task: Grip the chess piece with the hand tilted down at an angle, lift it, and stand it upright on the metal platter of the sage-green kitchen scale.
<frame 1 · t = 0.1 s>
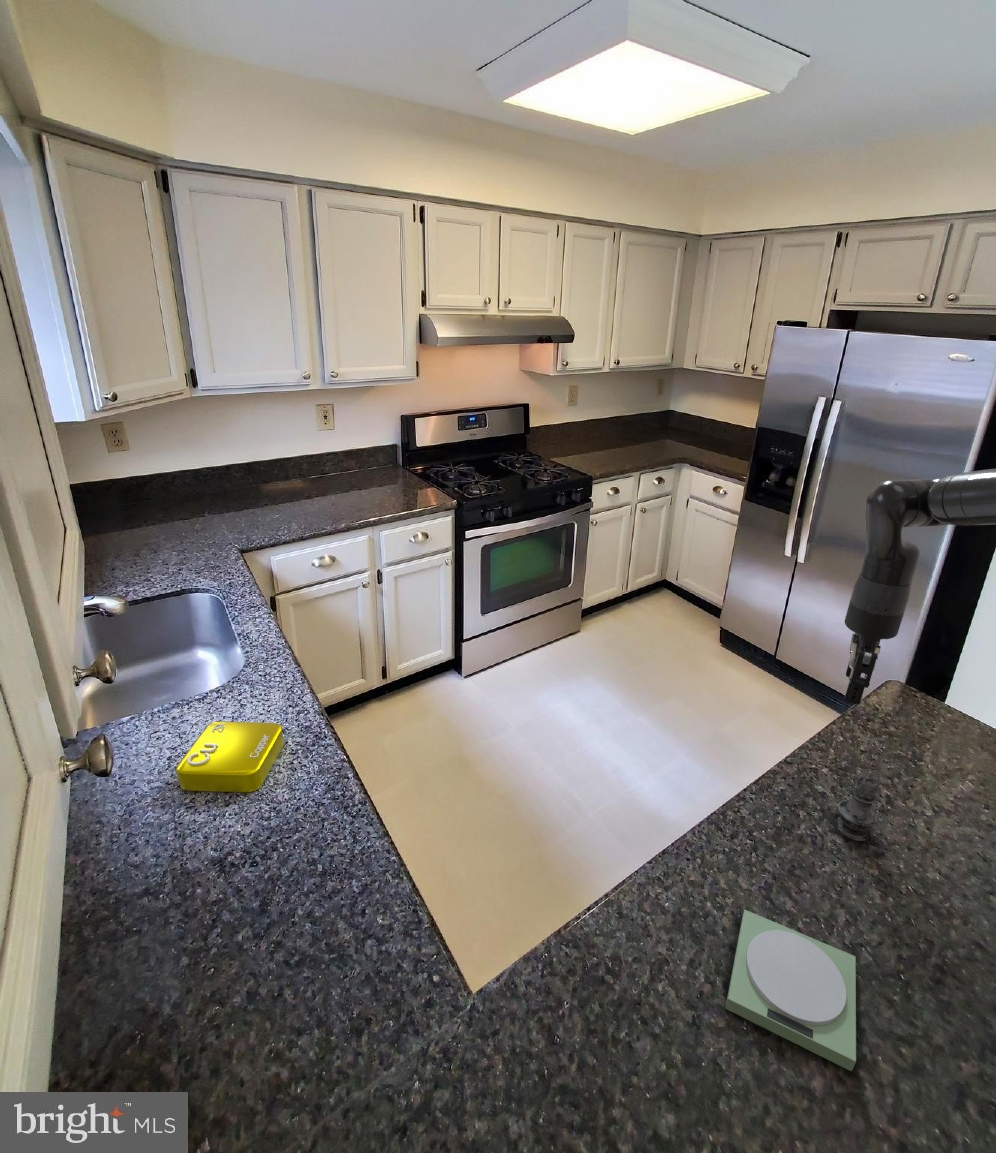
hand: (852, 689, 101), 22 cm above the countertop, tool pointing down, fingers open, 8 cm apart
chess piece: (851, 829, 102), on the countertop
scale: (790, 986, 77), on the countertop
element tile: (235, 764, 114), on the countertop
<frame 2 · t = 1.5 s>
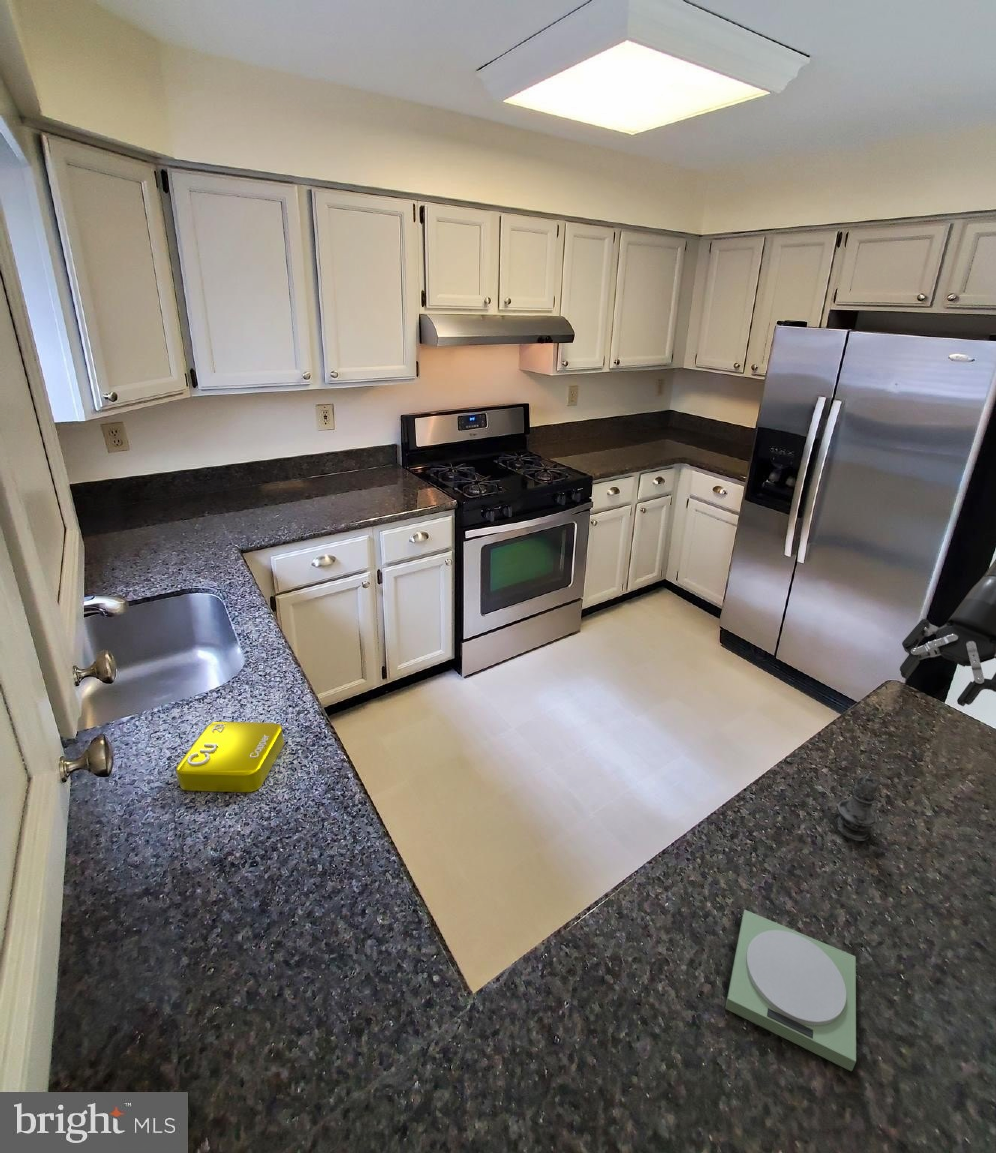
hand: (930, 689, 97), 25 cm above the countertop, tool tilted 45°, fingers open, 8 cm apart
nothing on the countertop moved.
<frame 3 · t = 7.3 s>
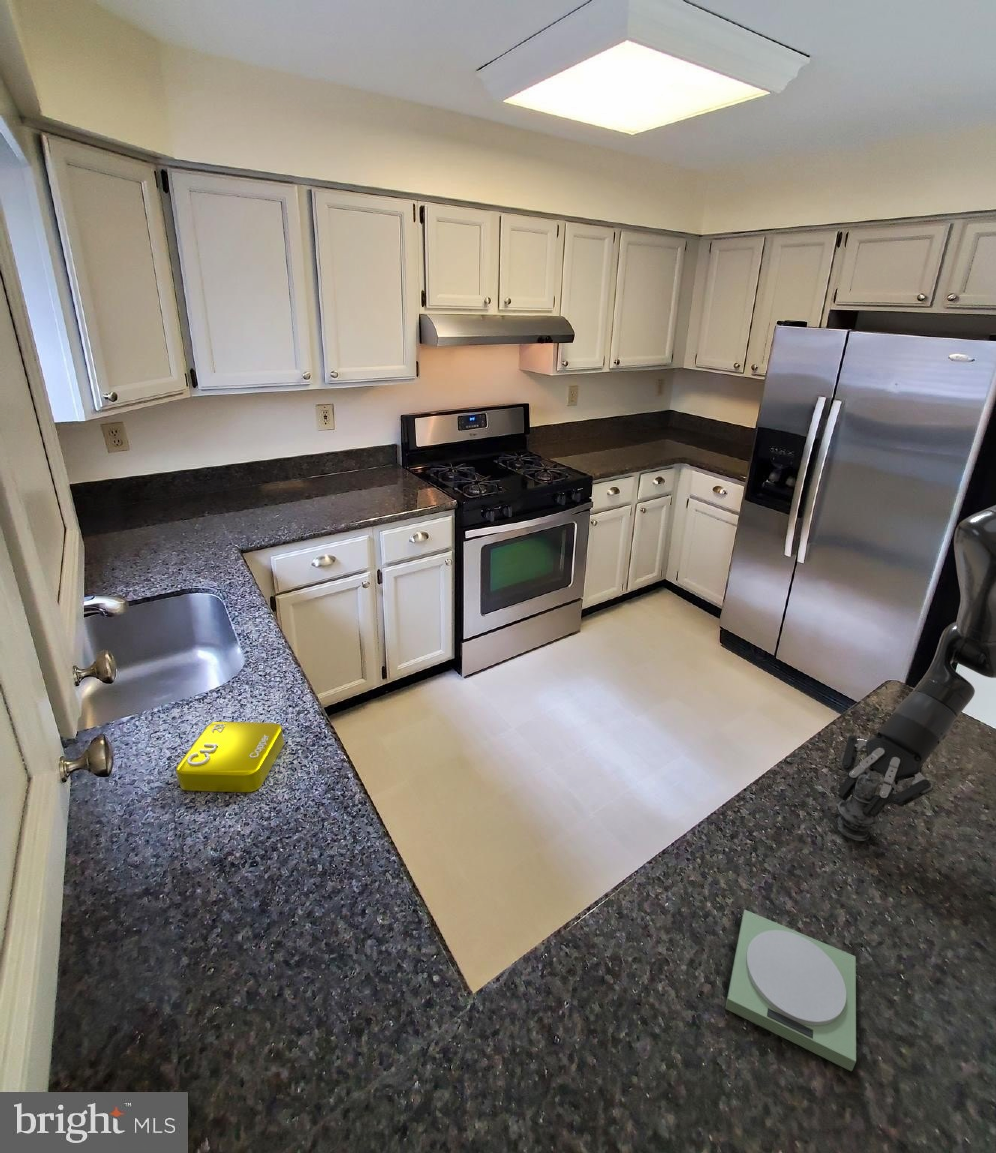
hand: (853, 806, 98), 6 cm above the countertop, tool tilted 45°, fingers closed on chess piece, 3 cm apart
chess piece: (852, 829, 102), on the countertop, touching gripper
everything else where it was.
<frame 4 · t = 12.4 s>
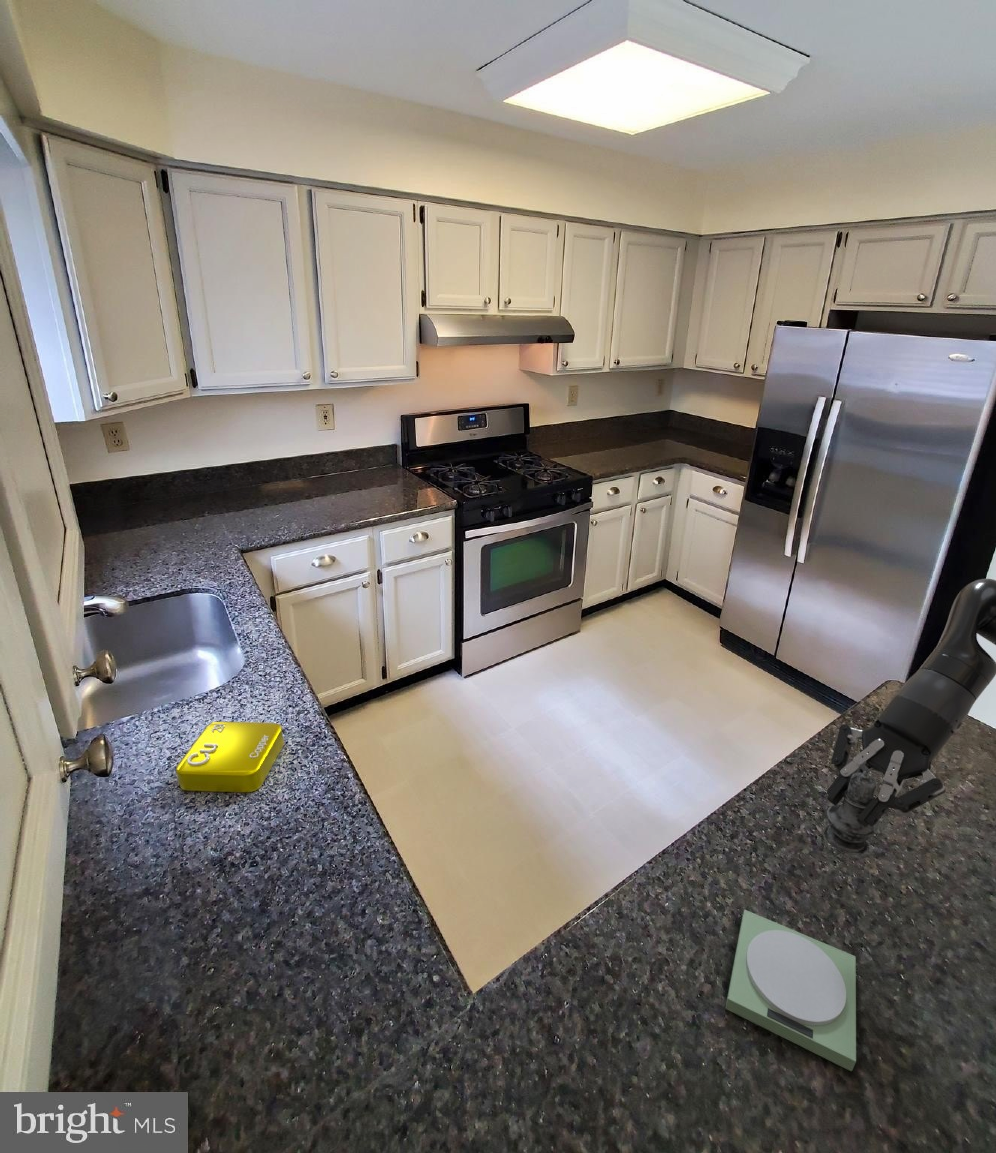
hand: (846, 812, 79), 20 cm above the countertop, tool tilted 45°, fingers closed on chess piece, 3 cm apart
chess piece: (845, 840, 82), point 14 cm above the countertop, touching gripper
everything else where it was.
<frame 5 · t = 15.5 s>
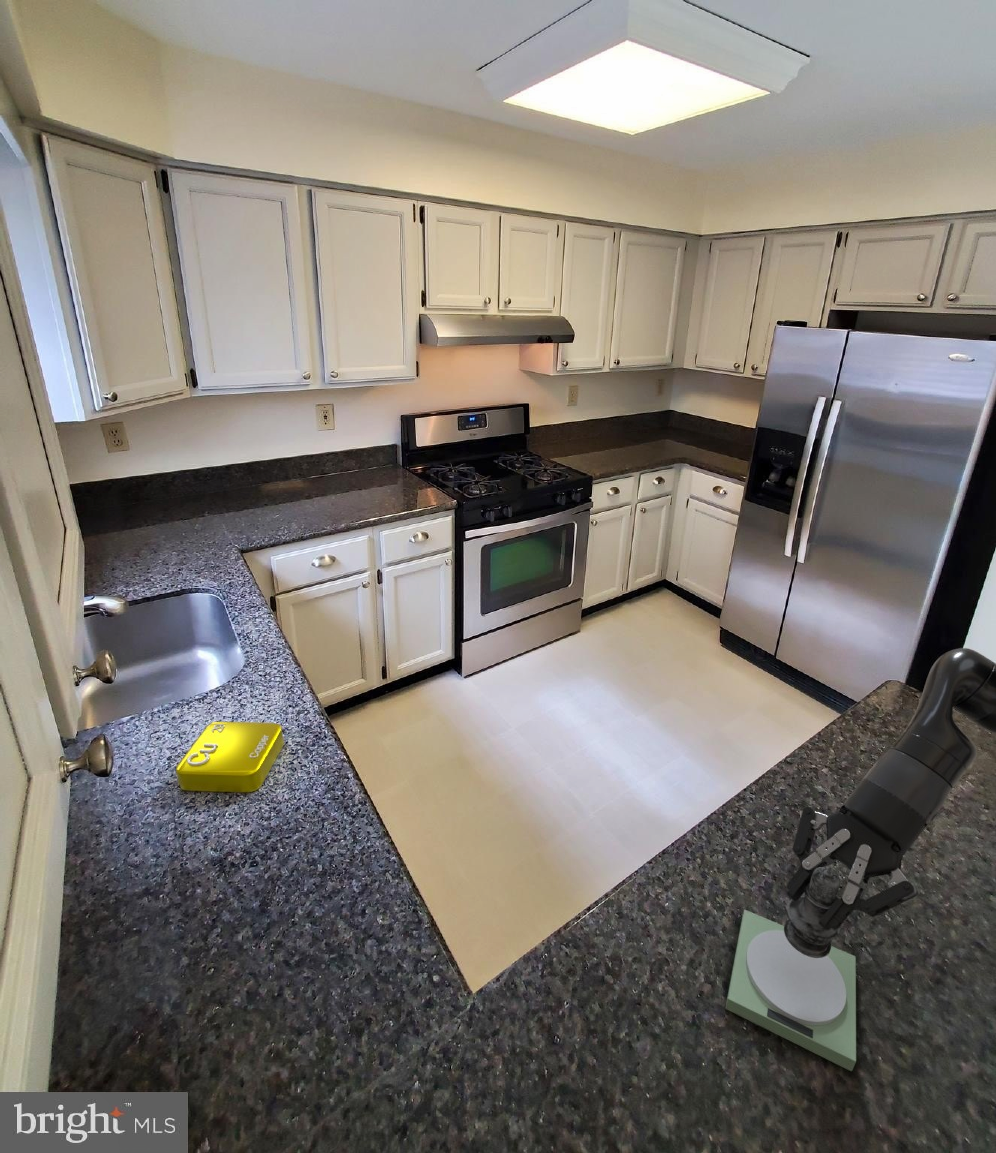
hand: (807, 911, 70), 15 cm above the countertop, tool tilted 45°, fingers closed on chess piece, 3 cm apart
chess piece: (806, 938, 74), point 9 cm above the countertop, touching gripper
everything else where it was.
when the fingers open (9 cm above the countertop, at t = 17.7 s): chess piece stays where it is, resting on scale.
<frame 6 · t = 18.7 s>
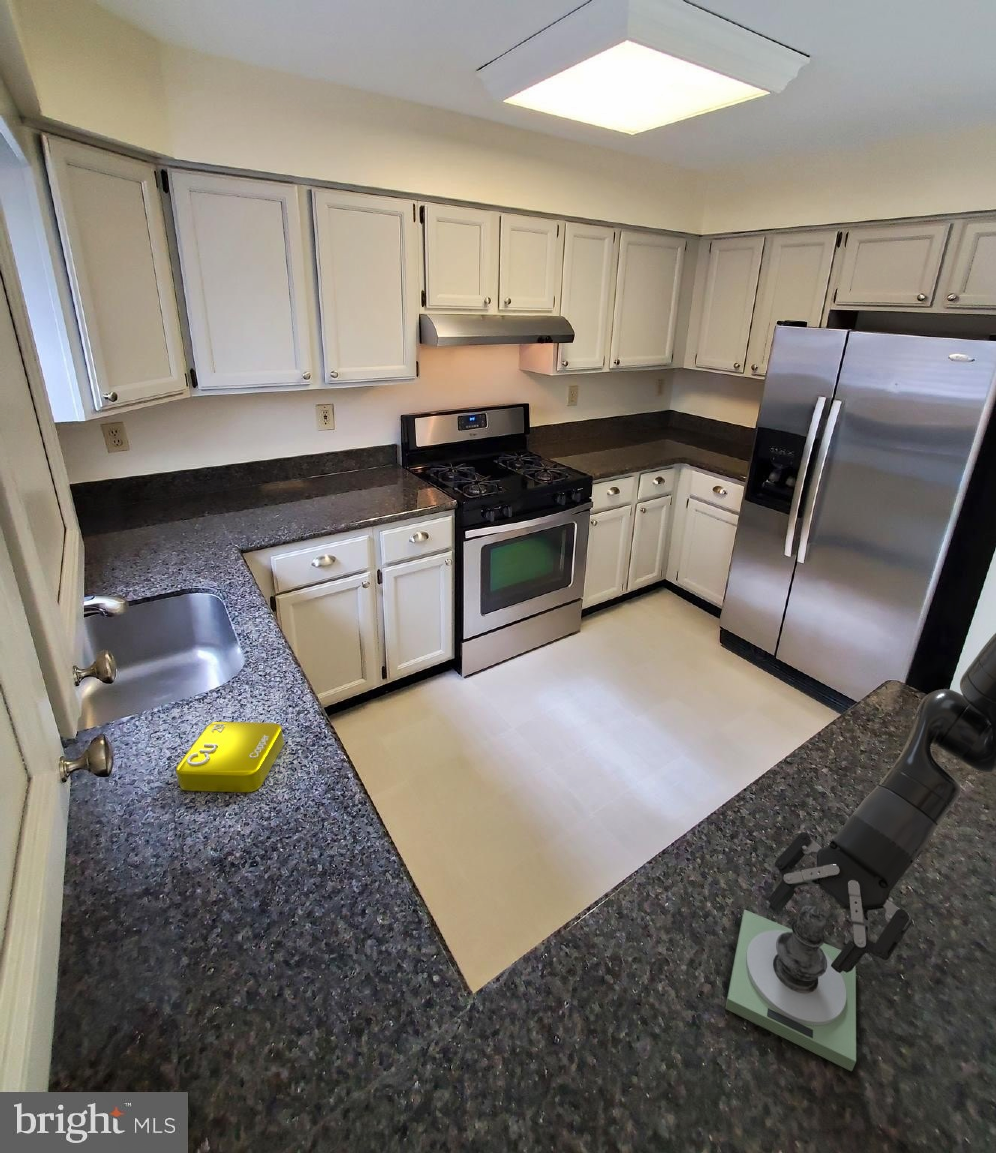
hand: (803, 938, 73), 10 cm above the countertop, tool tilted 45°, fingers open, 8 cm apart
chess piece: (794, 973, 76), point 3 cm above the countertop, touching scale
everything else where it was.
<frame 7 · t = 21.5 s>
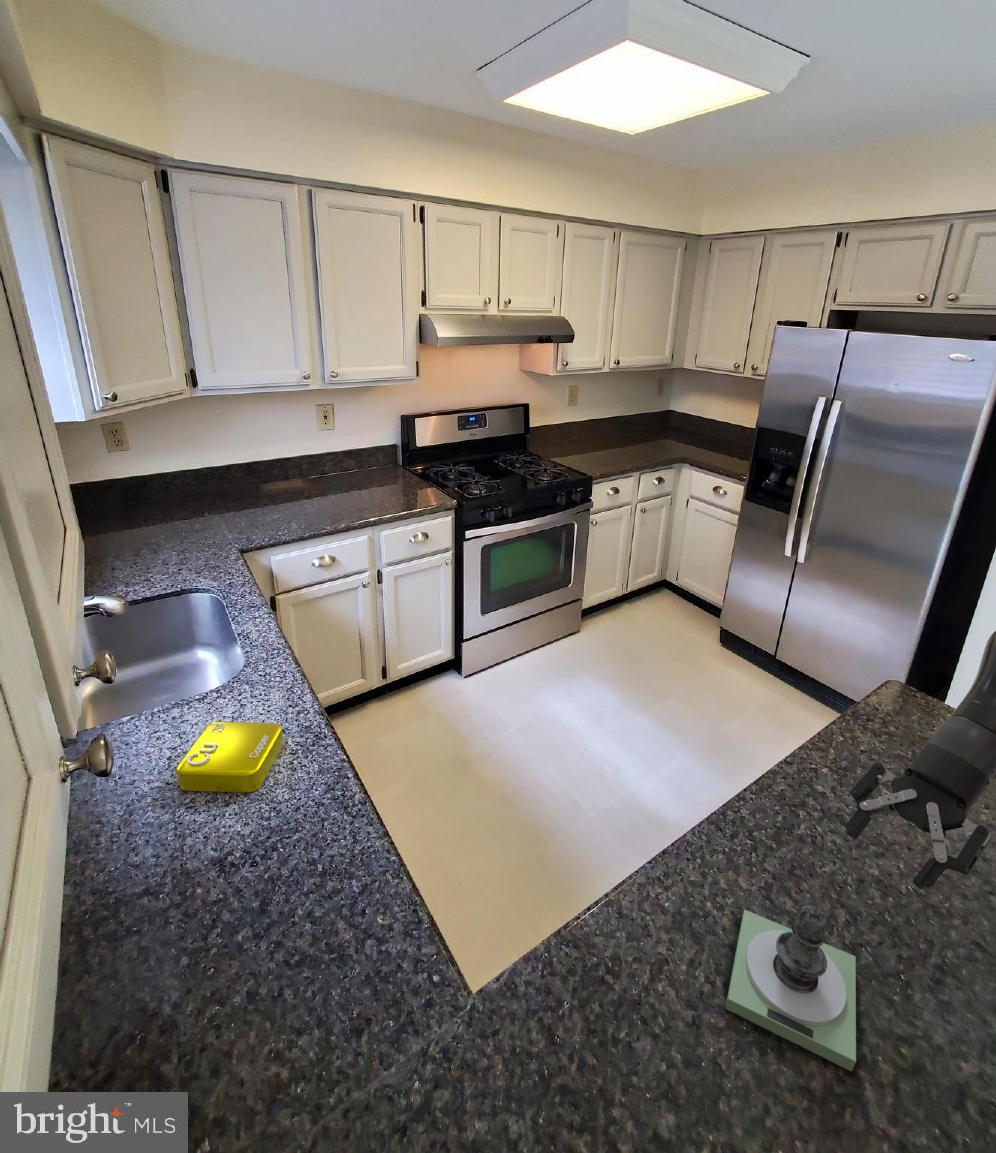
hand: (882, 860, 76), 16 cm above the countertop, tool tilted 45°, fingers open, 8 cm apart
nothing on the countertop moved.
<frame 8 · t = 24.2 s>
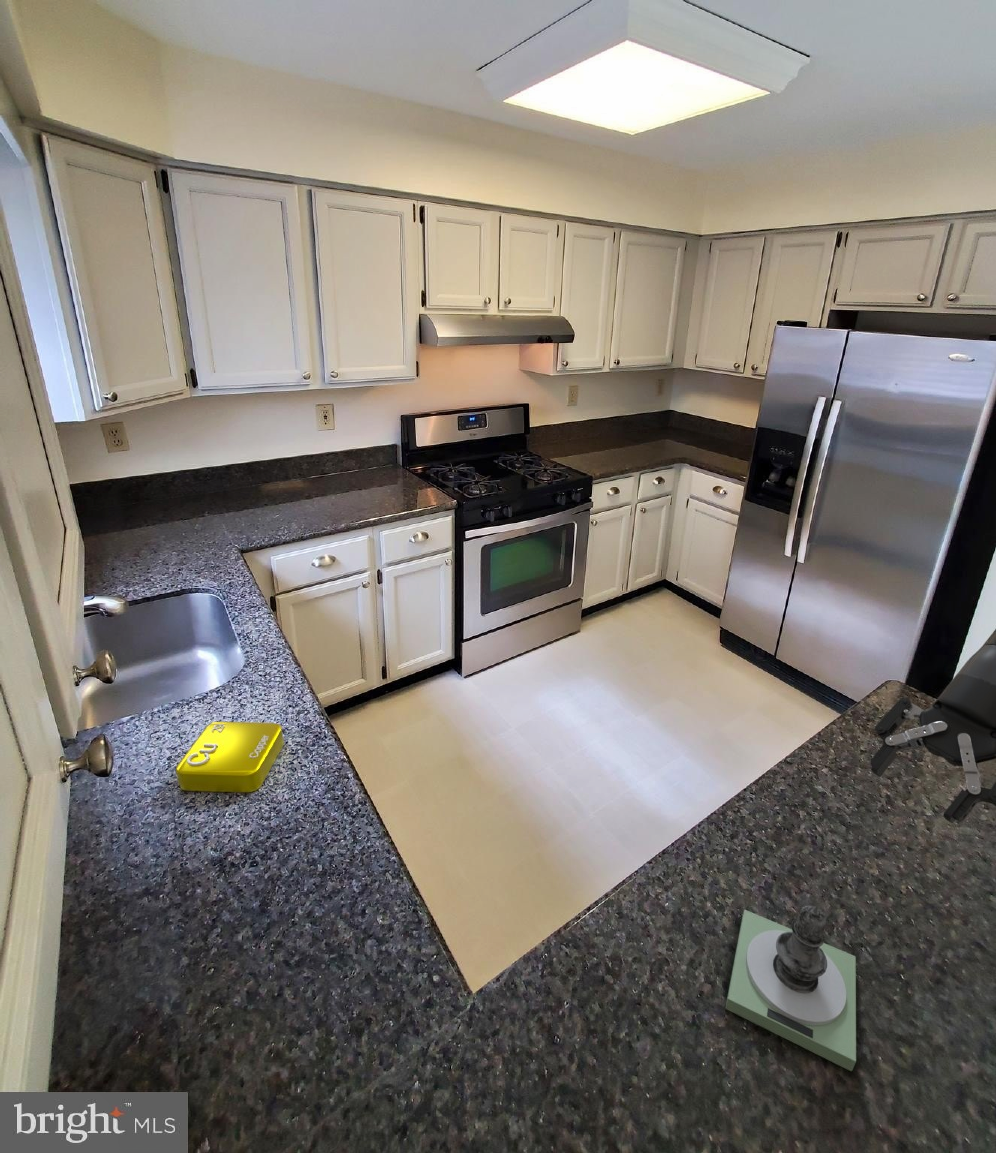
hand: (909, 795, 72), 27 cm above the countertop, tool tilted 45°, fingers open, 8 cm apart
nothing on the countertop moved.
at the end: chess piece inside the target area on the scale (0.1 cm from its centre), point 2.6 cm above the scale's base; chess piece tilted 0°; the gripper is holding nothing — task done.
